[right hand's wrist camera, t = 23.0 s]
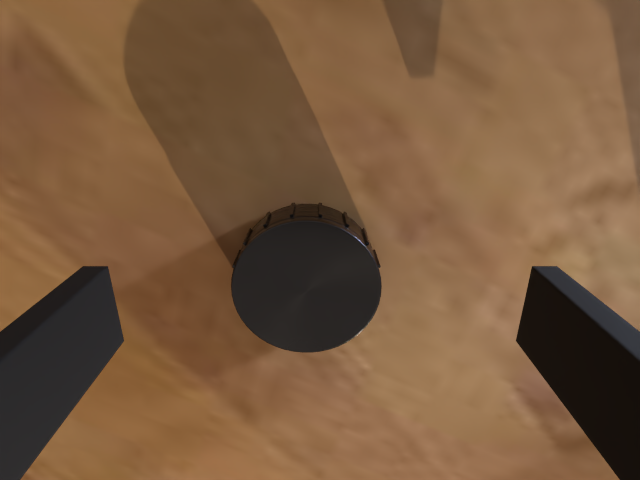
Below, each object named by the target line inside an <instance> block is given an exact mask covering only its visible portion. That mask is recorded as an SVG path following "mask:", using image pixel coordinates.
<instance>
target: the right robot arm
mask: <svg viewBox="0 0 640 480" xmlns="http://www.w3.org/2000/svg"><path fill="white" fill-rule="evenodd" d="M123 341H124V339H123V334H122V329H121V325H120V320H119V316H118V311H117V306H116V302H115V297H114V292H113V288H112V283H111V279H110V274H109V269H108V266H83V267H82V268H80V269H79V270H78V271H77V272H75V273H74V274H73V275H72V276H70V277H69V278H68V279H66V280H65V281H64V282H63V283H61V284H60V285H59V286H58V287H56V288H55V289H54V290H53V291H51V292H50V293H49V294H48V295H46V296H45V297H44V298H42V299H41V300H40V301H39V302H37V303H36V304H35V305H34V306H32V307H31V308H30V309H29V310H27V311H26V312H25V313H24V314H22V315H21V316H20V317H18V318H17V319H16V320H15V321H13V322H12V323H11V324H10V325H8V326H7V327H6V328H5V329H3V330H2V331H1V332H0V480H20V479H21V478H22V476H23V475H24V474H25V472H26V471H27V470H28V468H29V467H30V466H31V464H32V463H33V462H34V460H35V459H36V458H37V456H38V455H39V454H40V452H41V451H42V450H43V448H44V447H45V446H46V444H47V443H48V442H49V440H50V439H51V438H52V436H53V435H54V434H55V432H56V431H57V430H58V428H59V427H60V426H61V424H62V423H63V422H64V420H65V419H66V418H67V416H68V415H69V414H70V412H71V411H72V410H73V408H74V407H75V406H76V404H77V403H78V402H79V400H80V399H81V398H82V396H83V395H84V394H85V392H86V391H87V390H88V388H89V387H90V386H91V384H92V383H93V382H94V380H95V379H96V378H97V376H98V375H99V374H100V372H101V371H102V370H103V368H104V367H105V366H106V364H107V363H108V362H109V360H110V359H111V358H112V356H113V355H114V354H115V352H116V351H117V349H118V348H119V347H120V345H121V344H122V343H123ZM516 341H517V343H518V344H519V345H520V347H521V348H522V350H523V351H524V352H525V354H526V355H527V356H528V358H529V359H530V360H531V362H532V363H533V364H534V366H535V367H536V368H537V370H538V371H539V372H540V374H541V375H542V376H543V378H544V379H545V380H546V382H547V383H548V384H549V386H550V387H551V388H552V390H553V391H554V392H555V394H556V395H557V396H558V398H559V399H560V400H561V402H562V403H563V404H564V406H565V407H566V408H567V410H568V411H569V412H570V414H571V415H572V416H573V418H574V419H575V420H576V422H577V423H578V424H579V426H580V427H581V428H582V430H583V431H584V432H585V434H586V435H587V436H588V438H589V439H590V440H591V442H592V443H593V444H594V446H595V447H596V448H597V450H598V451H599V452H600V454H601V455H602V456H603V458H604V459H605V460H606V462H607V463H608V464H609V466H610V467H611V468H612V470H613V471H614V472H615V474H616V475H617V476H618V478H619V479H620V480H640V332H639V331H638V330H637V329H635V328H634V327H633V326H632V325H630V324H629V323H628V322H627V321H625V320H624V319H623V318H622V317H620V316H619V315H618V314H616V313H615V312H614V311H613V310H611V309H610V308H609V307H608V306H606V305H605V304H604V303H603V302H601V301H600V300H599V299H598V298H596V297H595V296H594V295H592V294H591V293H590V292H589V291H587V290H586V289H585V288H584V287H582V286H581V285H580V284H579V283H577V282H576V281H575V280H574V279H572V278H571V277H570V276H568V275H567V274H566V273H565V272H563V271H562V270H561V269H560V268H558V267H557V266H532V269H531V274H530V279H529V283H528V288H527V292H526V297H525V302H524V306H523V311H522V316H521V320H520V325H519V329H518V334H517V339H516Z"/></svg>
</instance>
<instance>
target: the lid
mask: <svg viewBox="0 0 640 480" xmlns="http://www.w3.org/2000/svg"><path fill="white" fill-rule="evenodd" d="M379 267H380V264H379V261H378V258H377V255H376V252H375V250H372V247H371V245H370V242H369V240H368V237H367V234H366V231H365V229H364V228H363V229H361V228H360V227H359V226H358V225H357V224H356V223H355V222H354V221H353V220H352V219H351V218H349V217H348V216H347V213H346V212H344V213H341V212H340V211H337V210H335V209H333V208H330V207H326V206H322V203H319V204H318V205H316V204H298V205H295V203H292V204H291V206H288V207H284V208H281V209H279V210H276V211H274V212H273V213H270V212H268V213H267V215H266V217H265V218H263V219H262V220H261V221H260V222H259V223H258V224H257V225H256V226H255V227H254V228H253V229H251V228H250V229H249V231H248V233H247V235H246V238H245V240H244V242H243V247H242V250H239V252H238V255H237V257H236V259H235V261H234V264H233V268H234V270H233V274H232V282H231V290H232V297H233V302H234V305H235V307H236V310H237V312H238V314H239V316H240V317H241V319H242V321H243V322H244V323H245V325H246V326H247V327H248V328H249V329H250V330H251V331H252V332H253V333H254V334H255V335H257V336H258V337H259V338H261V339H262V340H264V341H266V342H267V343H269V344H271V345H273V346H276V347H278V348H281V349H285V350H289V351H294V352H319V351H325V350H329V349H332V348H335V347H338V346H340V345H342V344H344V343H346V342H348V341H350V340H351V339H353V338H354V337H355V336H357V335H358V334H359V333H360V332H361V331H362V330H363V329H364V328H365V327H366V326H367V325H368V323H369V322H370V321H371V319H372V318H373V316H374V314H375V312H376V310H377V307H378V305H379V301H380V297H381V277H380V272H379Z"/></svg>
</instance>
